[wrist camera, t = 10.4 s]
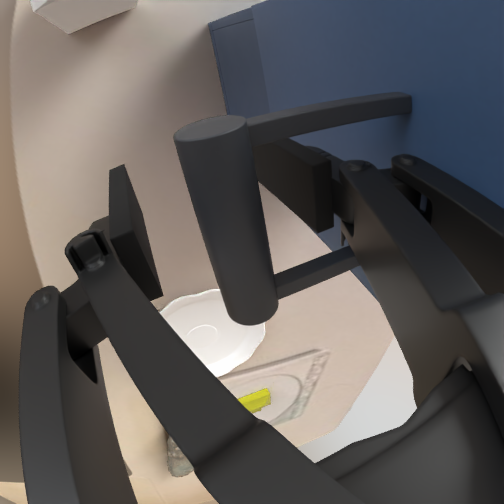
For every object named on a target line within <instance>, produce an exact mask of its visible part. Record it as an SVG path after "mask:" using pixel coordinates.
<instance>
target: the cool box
mask: <svg viewBox="0 0 504 504" xmlns="http://www.w3.org/2000/svg"><path fill="white" fill-rule="evenodd" d="M208 25H209V30H210V34H211V39H212V44H213V49H214V53H215V58H216V63H217V68H218V72H219V77H220V82H221V87H222V91H223V96H224V101H225V106H226V110H227V115H236V116H242V117H244V118H245V119H247V118H251V117H255V116H259V115H264V114H268V113H270V109H269V103H268V97H267V91H266V85H265V79H264V73H263V67H262V62H261V56H260V50H259V45H258V39H257V34H256V29H255V23H254V18H253V13H252V8H248V9H245V10H242V11H239V12H236V13H234V14H231V15H228V16H226V17H223V18H221V19H218V20H215V21H213V22H210V23H208Z"/></svg>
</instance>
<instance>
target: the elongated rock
mask: <svg viewBox="0 0 504 504" xmlns="http://www.w3.org/2000/svg"><path fill="white" fill-rule="evenodd" d="M167 441H168V442H167V443H168V453H167V454H168V455H169V456H168V461H167V463H168V466H169V471H170V472H171V474H172V476H175V477H183V476H186V475H188V474H189V473H191V472H192V471H194V469H193V466H192V465H191V463H190V462H189V461H188V459H187V458H186V457H185V455H184V454H183V453H182V451H181V450H180V449H179V447H178V446H177V445H176V443H175V442H174V441H173V439H172V438H171V437H170V435H169V439H168V440H167Z"/></svg>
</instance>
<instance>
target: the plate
mask: <svg viewBox="0 0 504 504" xmlns="http://www.w3.org/2000/svg"><path fill="white" fill-rule="evenodd" d="M159 313H160V314H161V315H162V316H163V318H164V319H165V320H166V321H167V322H168V324H169V325H170V326H171V327H172V328H173V330H174V331H175V332H176V333H177V334H178V335H179V337H180V338H181V339H182V340H183V341H184V342H185V343H186V345H187V346H188V347H189V348H190V349H191V350H192V351H193V353H194V354H195V355H196V356H197V357H198V358H199V359H200V360H201V361H202V363H203V364H204V365H205V366H206V367H207V368H208V369H209V370H210V371H211V372H212V373H213V374H214V376H215V377H219V376H222V375H224V374H226V373H229V372H230V371H231V370H233V369H234V368H235V367H236V366H238V365H240V364H241V363H243V362H245V361H246V360H248V359H249V358H250V357H251V356H252V355H253V353H254V351H255V349H256V347H257V346H258V345H259V344H260V343H261V341H262V340H263V338H264V336H265V333H266V332H265V322H264V323H261V324H258V325H253V326H245V325H241V324H238V323H236V322H234V321H233V320H232V319H231V318H230V317H229V315H228V313H227V310H226V307H225V304H224V301H223V298H222V295H221V292H220V289H210V290H207V291H204V292H201V293H198V294H193V295H186V296H182V297H180V298H178V299H175V300H173V301H172V302H170V303H169V304H168V305H167V306H166V307H165V308H164V309H163V310H162V311H160V312H159Z"/></svg>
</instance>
